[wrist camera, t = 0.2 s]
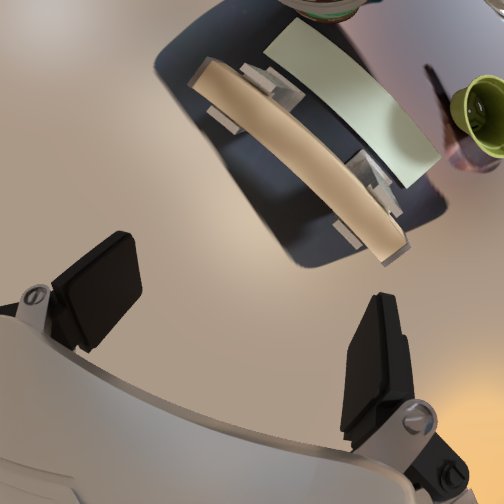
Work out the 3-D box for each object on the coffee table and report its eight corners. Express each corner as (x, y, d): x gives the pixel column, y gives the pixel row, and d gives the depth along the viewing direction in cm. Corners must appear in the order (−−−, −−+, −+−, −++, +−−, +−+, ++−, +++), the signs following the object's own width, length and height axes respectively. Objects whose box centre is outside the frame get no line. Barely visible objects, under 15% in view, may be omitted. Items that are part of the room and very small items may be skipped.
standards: (270, 67, 30) (238, 51, 20) (391, 181, 33) (413, 218, 23) (238, 104, 34) (194, 108, 24) (355, 212, 37) (360, 260, 27)
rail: (221, 60, 22) (207, 56, 20) (404, 232, 26) (411, 247, 23) (202, 85, 24) (186, 84, 21) (381, 250, 28) (384, 267, 25)
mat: (297, 18, 26) (296, 17, 25) (440, 156, 29) (441, 157, 29) (264, 53, 29) (262, 52, 29) (405, 187, 33) (406, 188, 33)
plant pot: (455, 154, 28) (483, 169, 21) (426, 90, 26) (450, 88, 18) (501, 132, 24) (533, 144, 16) (475, 70, 21) (506, 66, 14)
